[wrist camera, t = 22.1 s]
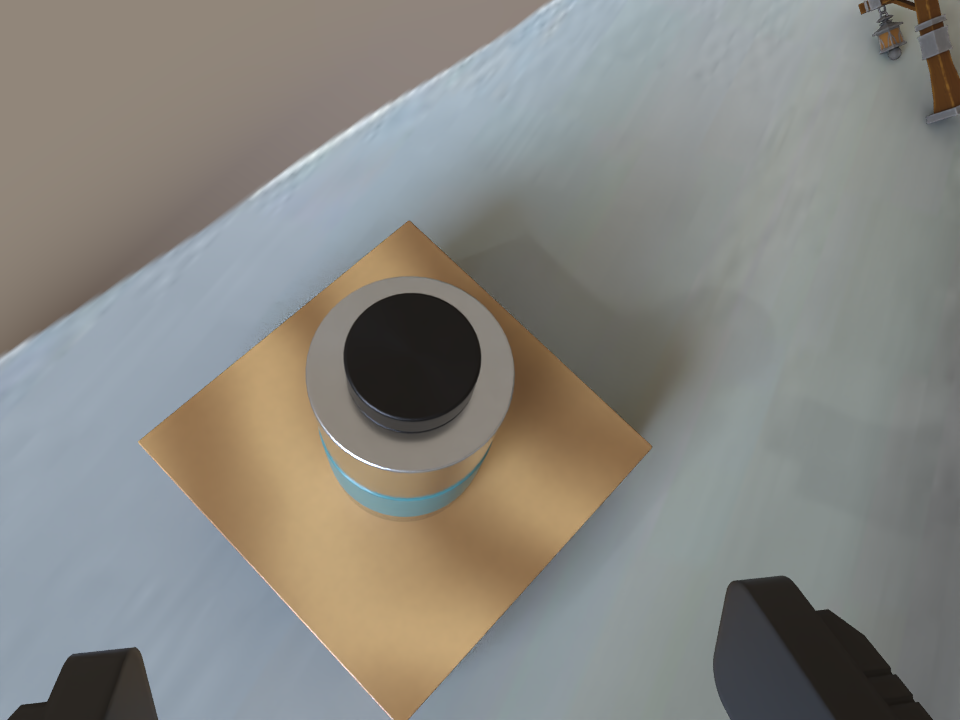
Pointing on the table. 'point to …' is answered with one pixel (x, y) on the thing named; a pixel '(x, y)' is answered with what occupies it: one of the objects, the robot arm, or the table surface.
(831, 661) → the robot arm
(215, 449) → the stand
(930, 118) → the lantern post
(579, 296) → the table surface
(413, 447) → the silver teal canister
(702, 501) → the table surface
